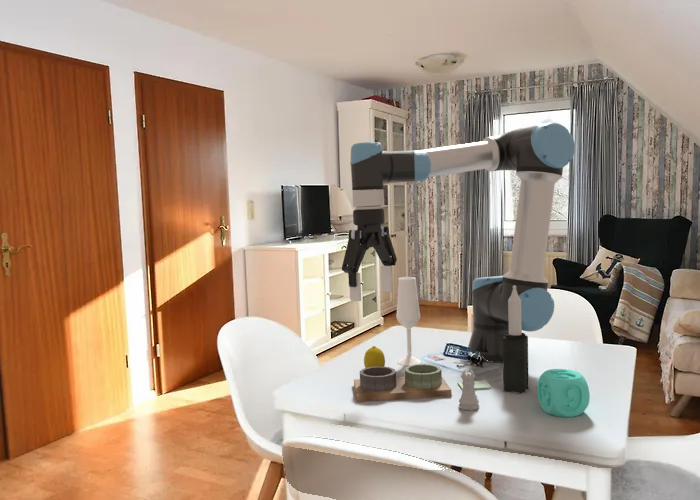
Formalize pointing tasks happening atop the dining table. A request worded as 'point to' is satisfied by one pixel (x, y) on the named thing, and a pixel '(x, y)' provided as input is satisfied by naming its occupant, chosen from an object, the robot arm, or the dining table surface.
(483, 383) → the card
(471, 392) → the rook chess piece
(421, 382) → the double bowl stand
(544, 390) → the decorative dice
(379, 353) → the lemon
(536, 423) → the dining table surface
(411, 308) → the champagne flute
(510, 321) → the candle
